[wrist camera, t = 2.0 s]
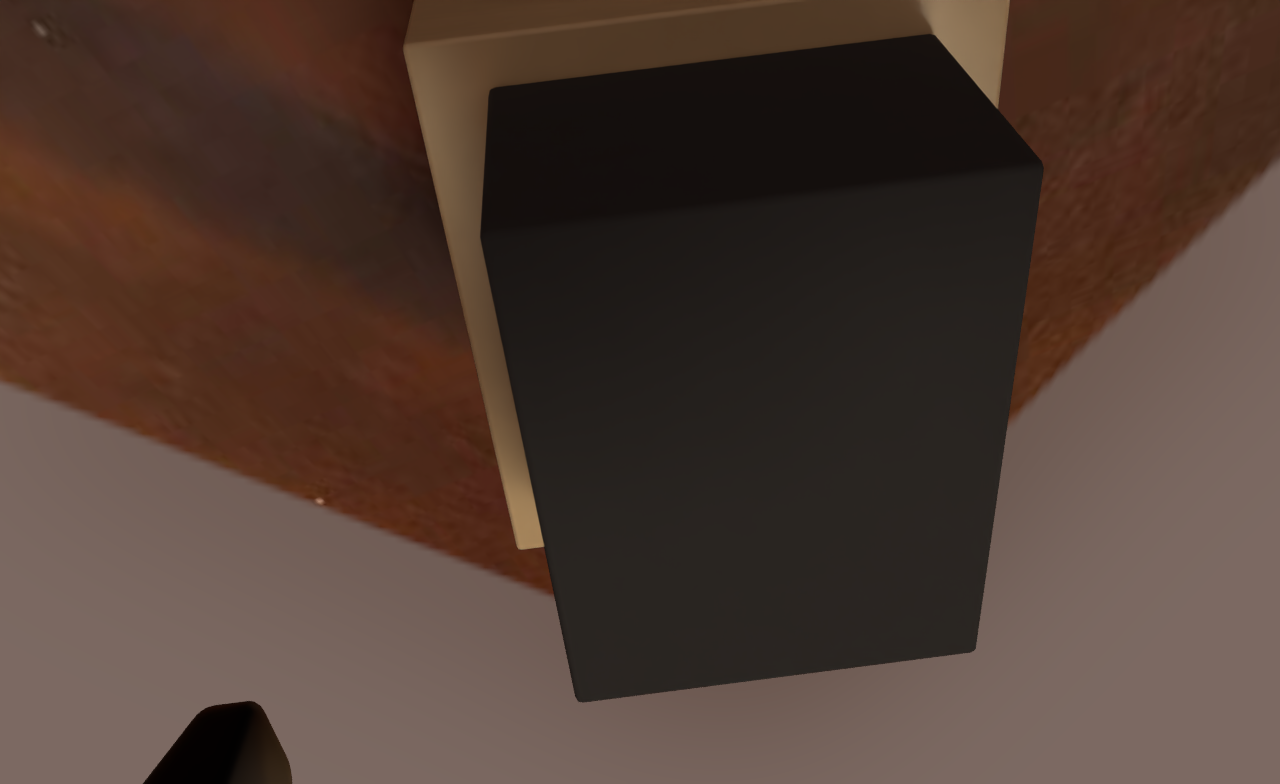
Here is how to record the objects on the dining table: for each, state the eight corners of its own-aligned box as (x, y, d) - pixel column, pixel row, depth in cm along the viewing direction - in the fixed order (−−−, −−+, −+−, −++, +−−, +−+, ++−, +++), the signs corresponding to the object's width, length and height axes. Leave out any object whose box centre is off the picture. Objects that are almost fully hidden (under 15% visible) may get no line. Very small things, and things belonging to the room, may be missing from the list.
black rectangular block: (904, 475, 15) (977, 655, 12) (567, 518, 15) (576, 706, 12) (934, 30, 11) (1048, 163, 9) (487, 86, 11) (478, 234, 9)
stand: (852, 267, 20) (957, 496, 15) (518, 309, 20) (517, 551, 15) (864, -161, 16) (1016, -31, 11) (437, -109, 15) (400, 46, 11)
